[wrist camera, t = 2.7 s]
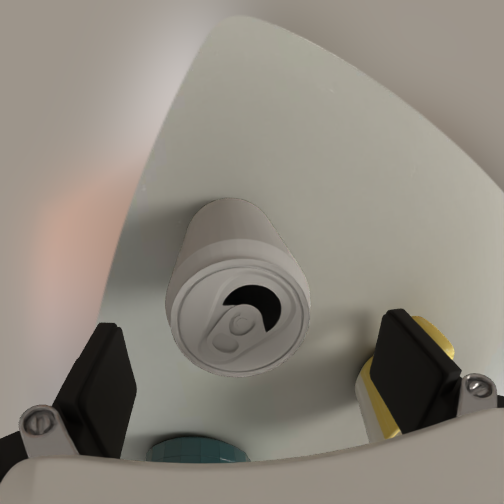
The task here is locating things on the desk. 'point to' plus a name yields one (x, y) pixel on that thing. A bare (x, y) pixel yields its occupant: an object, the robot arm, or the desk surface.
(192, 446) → the bowl
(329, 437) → the desk surface
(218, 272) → the beverage can
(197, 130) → the desk surface
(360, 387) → the mug
